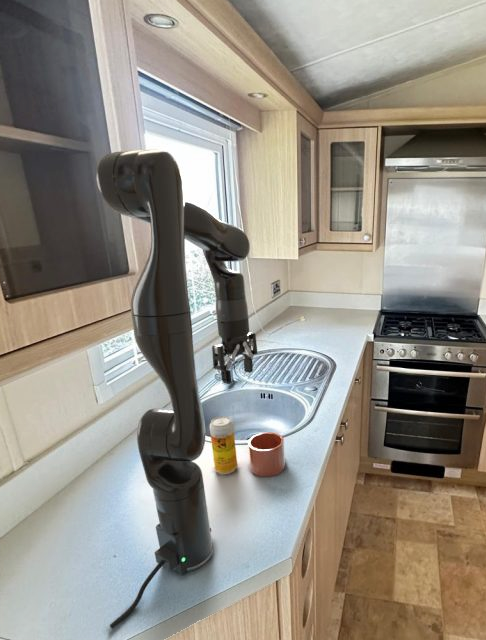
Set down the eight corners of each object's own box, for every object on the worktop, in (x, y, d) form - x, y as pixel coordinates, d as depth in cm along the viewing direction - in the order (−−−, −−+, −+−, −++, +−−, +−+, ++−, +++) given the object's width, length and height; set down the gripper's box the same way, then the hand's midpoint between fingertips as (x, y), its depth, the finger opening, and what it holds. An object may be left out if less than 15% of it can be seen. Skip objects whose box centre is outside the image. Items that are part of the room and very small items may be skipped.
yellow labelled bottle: (215, 477, 109) (209, 428, 104) (214, 464, 115) (208, 417, 109) (238, 473, 111) (233, 424, 105) (236, 461, 116) (231, 414, 111)
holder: (270, 480, 108) (268, 454, 105) (243, 469, 112) (240, 444, 110) (291, 462, 115) (290, 437, 112) (265, 452, 120) (263, 429, 117)
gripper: (239, 308, 107) (244, 366, 112) (200, 320, 95) (207, 384, 101) (262, 311, 103) (266, 370, 109) (224, 324, 92) (231, 390, 97)
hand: (238, 377), depth 105 cm, fingers open, 8 cm apart
